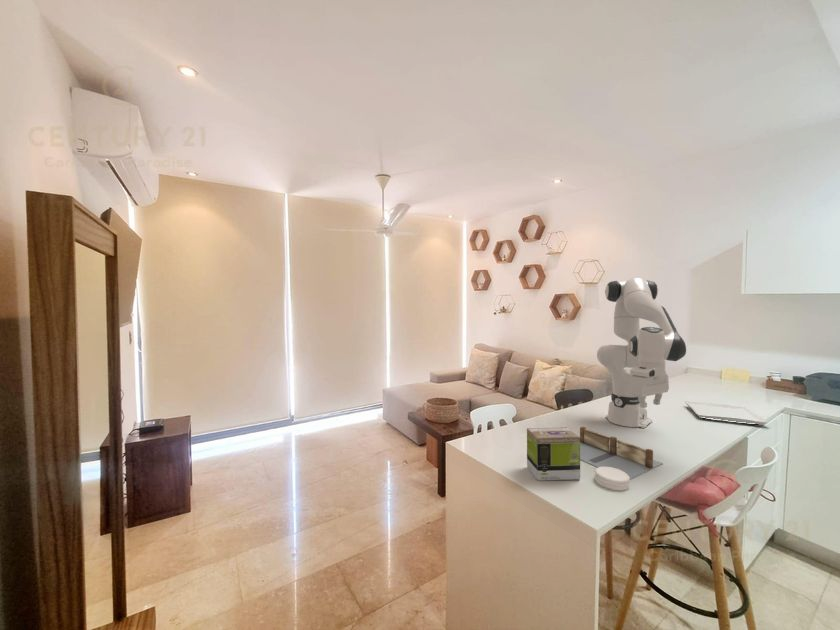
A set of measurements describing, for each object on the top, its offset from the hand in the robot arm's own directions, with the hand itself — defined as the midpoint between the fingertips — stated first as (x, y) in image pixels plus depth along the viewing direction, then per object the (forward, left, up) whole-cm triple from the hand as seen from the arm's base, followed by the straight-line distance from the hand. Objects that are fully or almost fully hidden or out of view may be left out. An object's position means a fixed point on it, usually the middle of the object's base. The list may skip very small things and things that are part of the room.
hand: (650, 405), depth 129 cm
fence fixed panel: (+8, -16, -21) cm, 27 cm away
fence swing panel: (+8, -2, -20) cm, 22 cm away
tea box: (+42, -11, -21) cm, 48 cm away
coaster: (+30, +3, -21) cm, 37 cm away
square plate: (-90, -6, -21) cm, 93 cm away
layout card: (+12, -9, -21) cm, 25 cm away
